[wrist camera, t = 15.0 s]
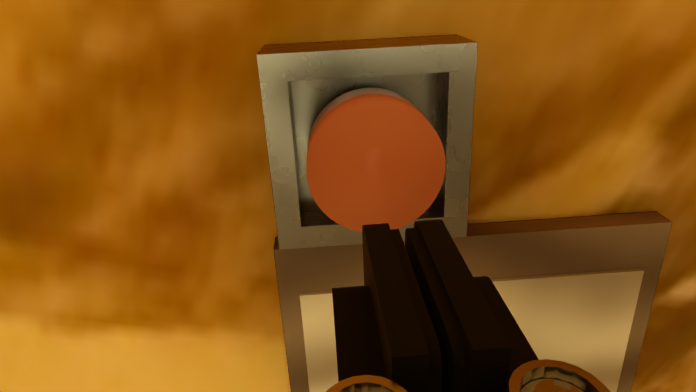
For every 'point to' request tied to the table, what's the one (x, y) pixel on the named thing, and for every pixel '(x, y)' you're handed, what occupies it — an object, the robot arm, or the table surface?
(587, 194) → the table surface
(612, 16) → the table surface
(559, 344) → the board
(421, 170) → the button
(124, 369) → the table surface
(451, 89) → the button housing
